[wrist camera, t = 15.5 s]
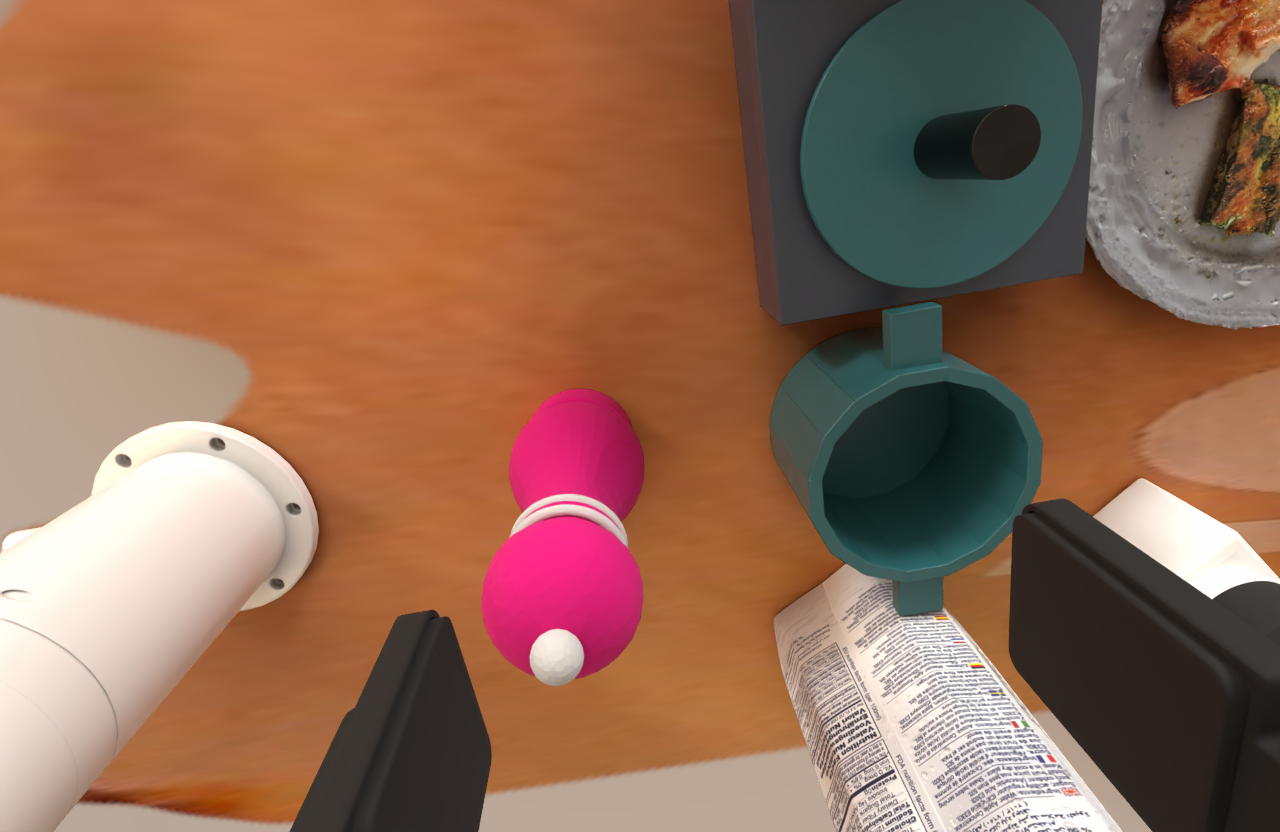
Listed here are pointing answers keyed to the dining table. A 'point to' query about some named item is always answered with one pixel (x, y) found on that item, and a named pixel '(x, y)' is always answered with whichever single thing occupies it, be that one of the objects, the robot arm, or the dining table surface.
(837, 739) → the juice carton
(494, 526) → the dining table surface
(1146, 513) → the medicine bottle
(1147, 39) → the food plate
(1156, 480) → the dining table surface
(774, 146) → the grey stepped block
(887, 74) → the lid
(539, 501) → the pepper mill
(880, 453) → the pot
